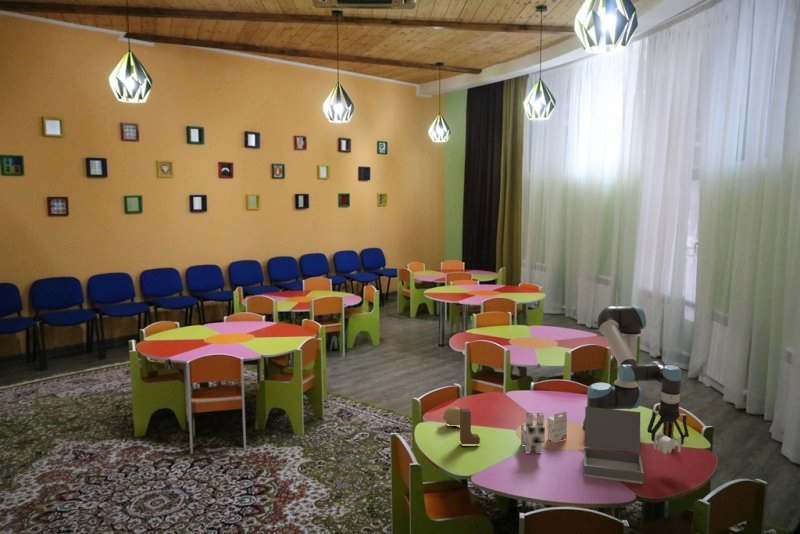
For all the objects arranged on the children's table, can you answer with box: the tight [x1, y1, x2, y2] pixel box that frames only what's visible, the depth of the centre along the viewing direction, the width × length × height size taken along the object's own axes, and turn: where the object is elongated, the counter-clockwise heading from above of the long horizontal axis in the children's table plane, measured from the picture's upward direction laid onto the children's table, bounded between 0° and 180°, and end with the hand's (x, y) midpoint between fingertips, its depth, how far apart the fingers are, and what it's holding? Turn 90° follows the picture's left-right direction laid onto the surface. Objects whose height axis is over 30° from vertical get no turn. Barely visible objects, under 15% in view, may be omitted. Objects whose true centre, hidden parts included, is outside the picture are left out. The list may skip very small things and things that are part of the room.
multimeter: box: [661, 421, 687, 448], centre depth 288 cm, size 15×10×20 cm
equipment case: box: [583, 447, 645, 485], centre depth 259 cm, size 24×18×5 cm
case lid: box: [583, 406, 641, 454], centre depth 271 cm, size 24×18×2 cm
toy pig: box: [442, 405, 461, 425], centre depth 309 cm, size 10×12×11 cm
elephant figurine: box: [656, 432, 678, 454], centre depth 259 cm, size 8×10×7 cm
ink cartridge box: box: [547, 411, 568, 443], centre depth 291 cm, size 9×5×15 cm, turn 118°
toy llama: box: [520, 412, 546, 453], centre depth 280 cm, size 8×18×20 cm, turn 1°
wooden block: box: [459, 408, 481, 444], centre depth 286 cm, size 9×4×18 cm, turn 97°
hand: (666, 449), depth 260 cm, fingers closed on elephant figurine, 9 cm apart
